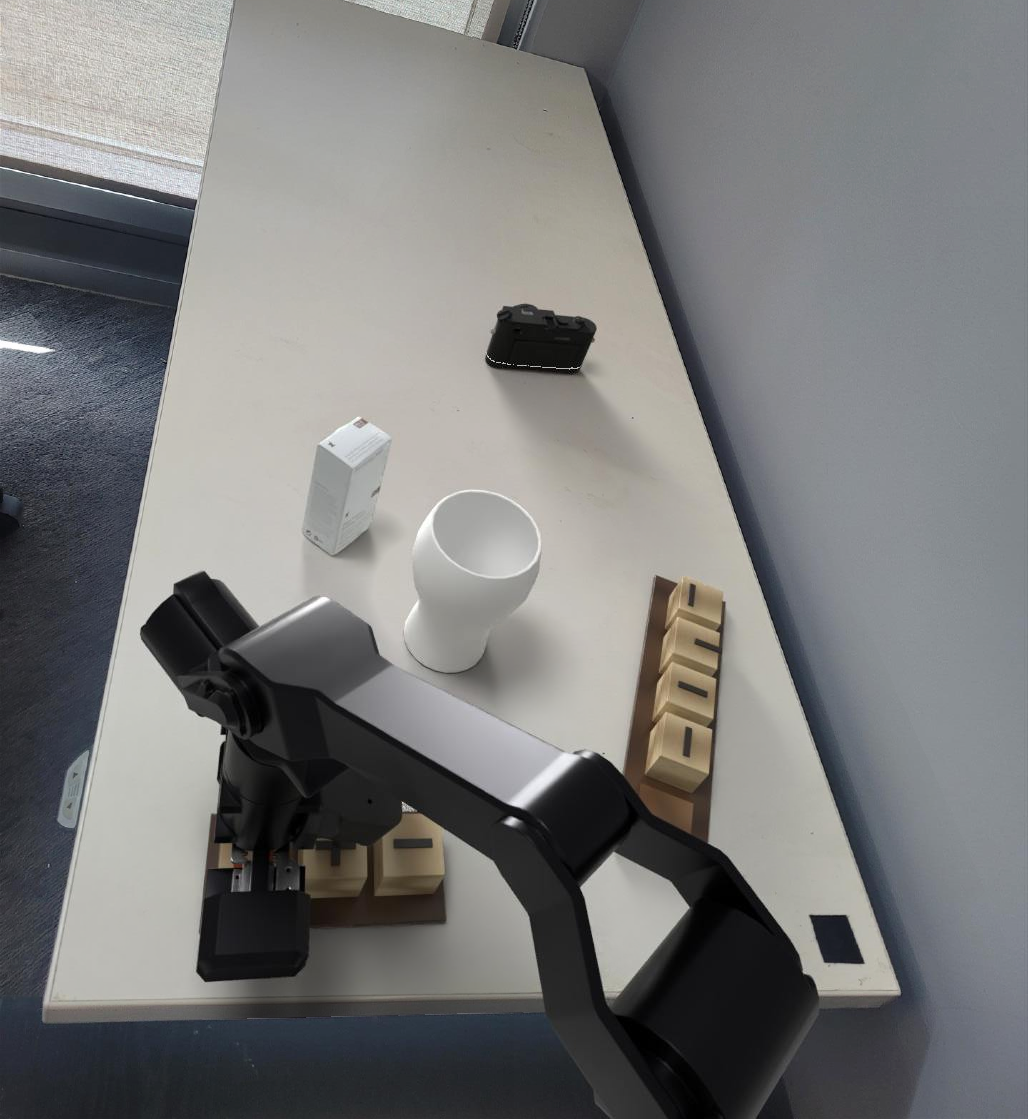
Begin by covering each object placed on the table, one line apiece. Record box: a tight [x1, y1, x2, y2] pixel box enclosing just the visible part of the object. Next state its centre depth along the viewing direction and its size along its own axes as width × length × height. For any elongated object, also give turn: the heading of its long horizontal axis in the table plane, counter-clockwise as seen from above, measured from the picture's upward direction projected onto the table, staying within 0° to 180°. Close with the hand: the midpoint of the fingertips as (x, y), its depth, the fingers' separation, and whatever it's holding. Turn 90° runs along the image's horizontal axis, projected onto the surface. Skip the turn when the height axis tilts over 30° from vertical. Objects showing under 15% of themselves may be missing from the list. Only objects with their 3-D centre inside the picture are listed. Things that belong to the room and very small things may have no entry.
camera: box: [484, 302, 598, 375], centre depth 117 cm, size 14×7×8 cm, turn 103°
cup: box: [403, 489, 543, 674], centre depth 79 cm, size 11×11×15 cm
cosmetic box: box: [301, 416, 393, 557], centre depth 85 cm, size 6×4×12 cm
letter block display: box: [621, 574, 727, 844], centre depth 84 cm, size 30×8×4 cm, turn 165°
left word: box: [198, 810, 447, 935], centre depth 65 cm, size 17×8×4 cm, turn 97°
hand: (250, 864), depth 64 cm, fingers closed on letter s tile, 4 cm apart
